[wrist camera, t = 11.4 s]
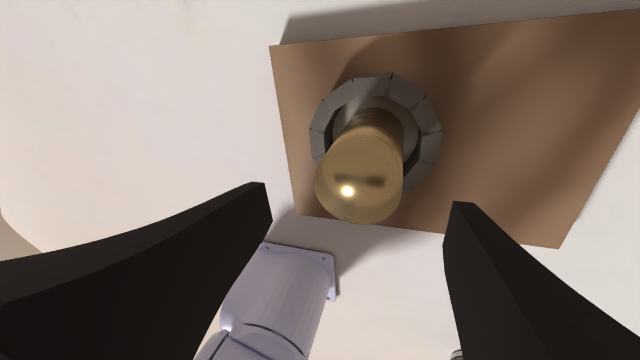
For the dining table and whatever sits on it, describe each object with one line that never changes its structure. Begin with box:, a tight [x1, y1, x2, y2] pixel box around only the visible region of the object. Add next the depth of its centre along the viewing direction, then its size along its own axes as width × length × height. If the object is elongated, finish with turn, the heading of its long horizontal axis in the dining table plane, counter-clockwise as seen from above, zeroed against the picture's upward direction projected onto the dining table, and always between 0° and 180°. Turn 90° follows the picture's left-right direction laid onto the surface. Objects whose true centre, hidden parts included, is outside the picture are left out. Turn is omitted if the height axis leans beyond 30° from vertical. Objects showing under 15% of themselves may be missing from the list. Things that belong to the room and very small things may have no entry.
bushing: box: [313, 107, 404, 224], centre depth 14 cm, size 4×4×7 cm
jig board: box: [269, 9, 640, 249], centre depth 16 cm, size 20×14×4 cm
